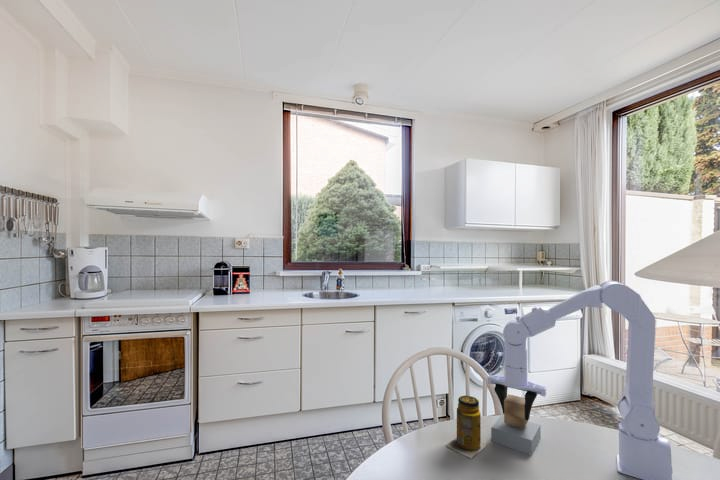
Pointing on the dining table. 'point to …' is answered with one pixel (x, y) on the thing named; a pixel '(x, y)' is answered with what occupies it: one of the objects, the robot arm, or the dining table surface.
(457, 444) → the condiment
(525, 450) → the slate box
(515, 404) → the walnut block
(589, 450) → the dining table surface
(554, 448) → the dining table surface
